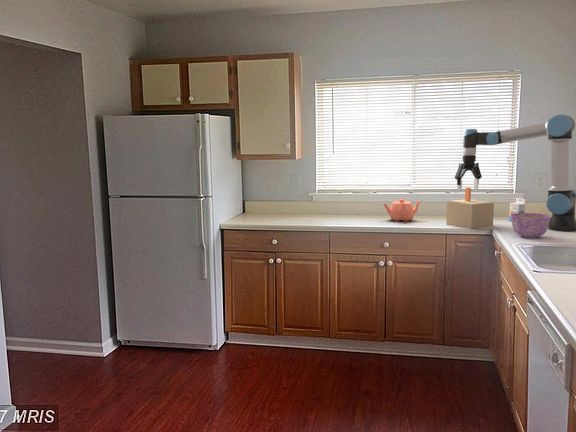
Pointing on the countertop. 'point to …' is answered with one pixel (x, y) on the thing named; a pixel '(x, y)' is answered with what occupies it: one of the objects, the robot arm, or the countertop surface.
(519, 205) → the ink box
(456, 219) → the carton
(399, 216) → the teapot
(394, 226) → the countertop surface
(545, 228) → the purple speckled bowl
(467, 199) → the flap
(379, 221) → the countertop surface
